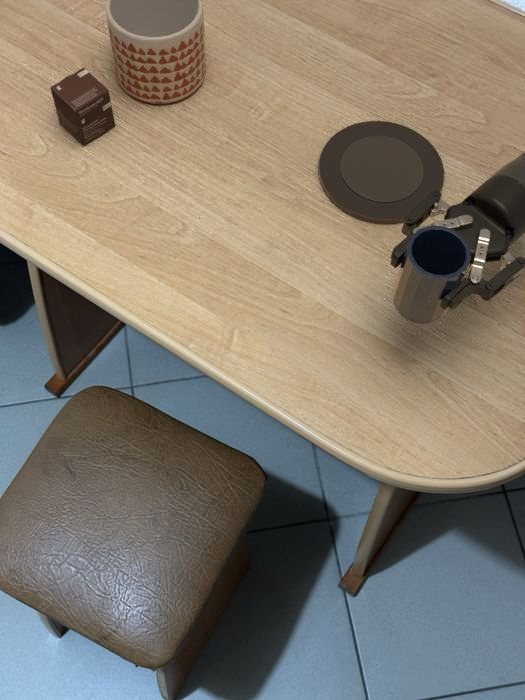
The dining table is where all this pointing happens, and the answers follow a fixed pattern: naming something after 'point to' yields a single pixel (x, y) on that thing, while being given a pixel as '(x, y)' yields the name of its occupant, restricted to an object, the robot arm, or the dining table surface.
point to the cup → (429, 273)
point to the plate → (379, 171)
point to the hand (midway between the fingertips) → (418, 283)
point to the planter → (157, 47)
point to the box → (83, 106)
